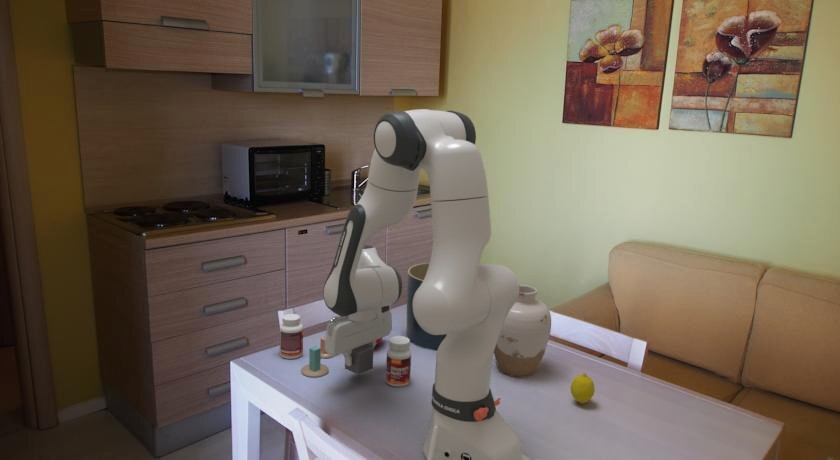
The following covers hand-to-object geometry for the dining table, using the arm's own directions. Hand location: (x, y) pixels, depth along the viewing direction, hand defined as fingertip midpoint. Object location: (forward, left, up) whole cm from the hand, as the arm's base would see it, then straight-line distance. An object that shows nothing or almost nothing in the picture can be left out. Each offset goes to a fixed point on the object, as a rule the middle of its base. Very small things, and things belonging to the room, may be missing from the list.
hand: (359, 360), depth 153 cm
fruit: (-47, -29, -5) cm, 56 cm away
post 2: (+17, -4, -5) cm, 18 cm away
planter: (+2, -37, -5) cm, 37 cm away
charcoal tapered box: (0, 0, -2) cm, 2 cm away
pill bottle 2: (-8, -6, -5) cm, 11 cm away
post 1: (+11, +5, -5) cm, 13 cm away
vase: (-26, -34, -5) cm, 43 cm away
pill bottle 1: (+23, +3, -5) cm, 24 cm away
